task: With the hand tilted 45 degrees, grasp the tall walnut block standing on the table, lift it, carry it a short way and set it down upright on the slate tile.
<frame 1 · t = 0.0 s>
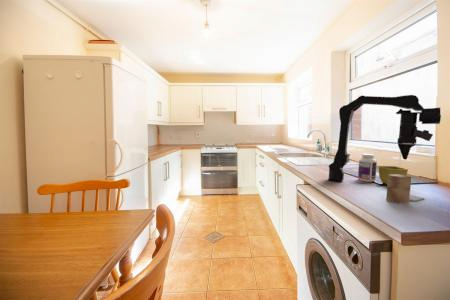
hand: (405, 158, 101), 15 cm above the table, tool pointing down, fingers open, 9 cm apart
walnut block: (397, 201, 87), on the table
flower pot: (391, 185, 112), on the table
pill bottle: (366, 181, 121), on the table
slate tile: (407, 197, 91), on the table
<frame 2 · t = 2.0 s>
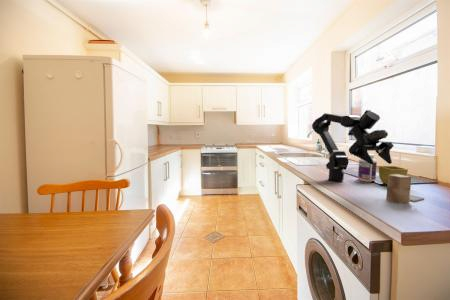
hand: (381, 163, 93), 13 cm above the table, tool tilted 45°, fingers open, 9 cm apart
nothing on the table moved.
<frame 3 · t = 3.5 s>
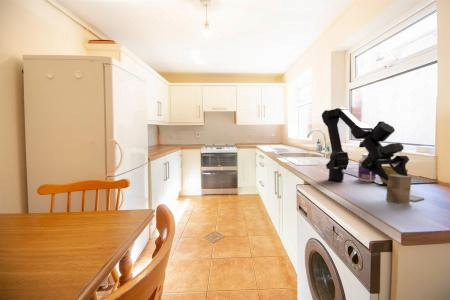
hand: (397, 179, 86), 8 cm above the table, tool tilted 45°, fingers open, 9 cm apart
nothing on the table moved.
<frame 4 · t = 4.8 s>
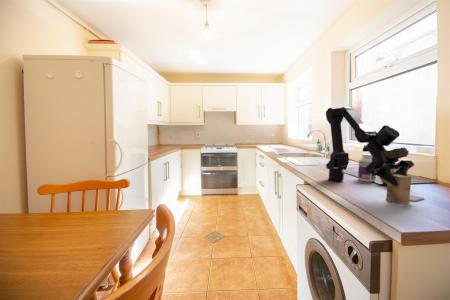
hand: (402, 185, 85), 7 cm above the table, tool tilted 45°, fingers closed on walnut block, 5 cm apart
walnut block: (397, 200, 87), on the table, touching gripper
everything else where it was.
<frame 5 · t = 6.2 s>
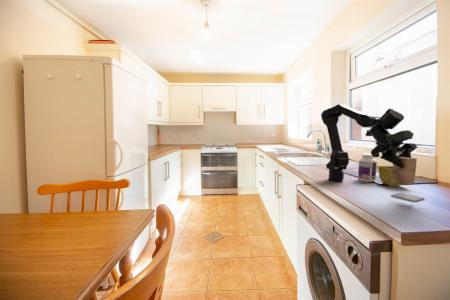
hand: (408, 167, 85), 13 cm above the table, tool tilted 45°, fingers closed on walnut block, 5 cm apart
walnut block: (402, 183, 87), point 7 cm above the table, touching gripper
everything else where it was.
when the fingers open (8 cm above the table, at t = 7.9 s): walnut block drops 1 cm, resting on slate tile.
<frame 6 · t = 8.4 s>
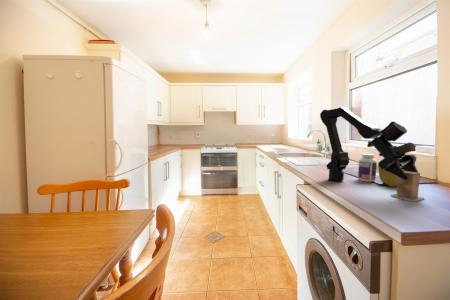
hand: (413, 178, 89), 8 cm above the table, tool tilted 45°, fingers open, 9 cm apart
walnut block: (407, 196, 91), point 1 cm above the table, touching slate tile
everything else where it was.
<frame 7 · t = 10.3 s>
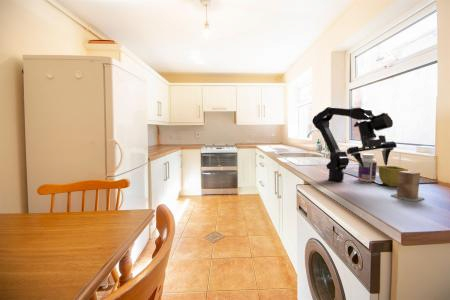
hand: (374, 166, 101), 11 cm above the table, tool tilted 15°, fingers open, 9 cm apart
nothing on the table moved.
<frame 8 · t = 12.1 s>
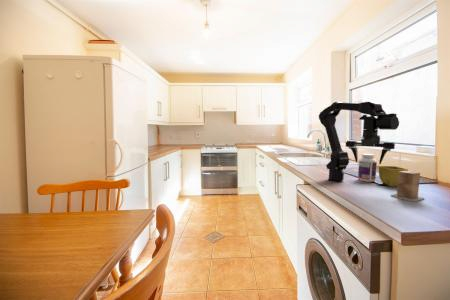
hand: (367, 163, 104), 12 cm above the table, tool pointing down, fingers open, 9 cm apart
nothing on the table moved.
at the end: walnut block 0.0 cm from the slate tile (horizontally); walnut block tilted 0°; the gripper is holding nothing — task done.
